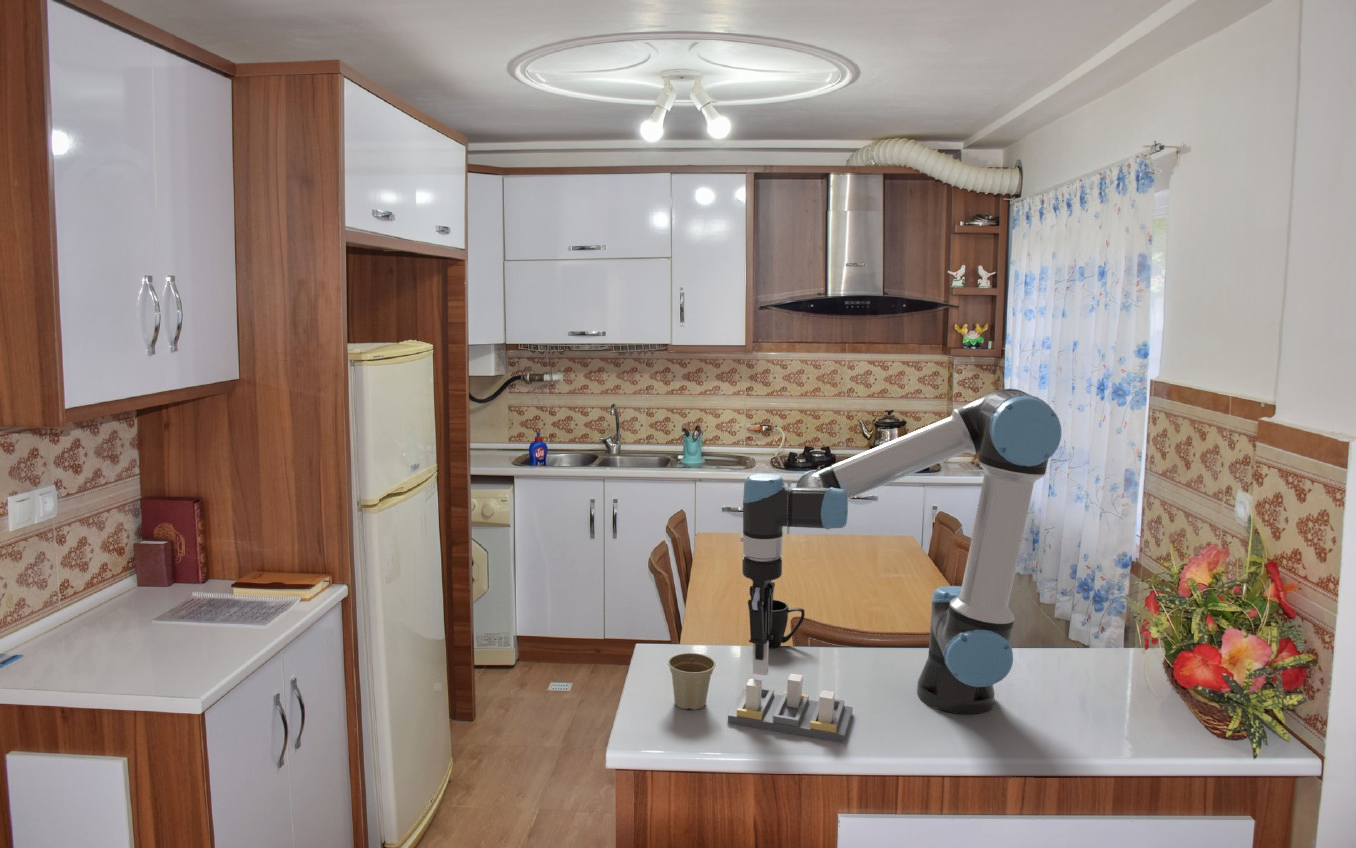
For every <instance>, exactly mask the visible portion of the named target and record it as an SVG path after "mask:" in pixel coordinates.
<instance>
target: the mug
mask: <svg viewBox="0 0 1356 848" xmlns="http://www.w3.org/2000/svg"><path fill="white" fill-rule="evenodd" d="M792 612H801V614H800V618H799V620H798V622H797V624H795V626H794V627H793V629H792V630H791V631H790V633H788V634H787V635H785V632H786V629H787V625H788V620H789V619H788V618H789V613H792ZM804 619H805V609H804V608H801V607H792V608H791V607H790V608H789V604H788V603H787V602H785V601H783V600H779V599H774V598H773V607H772V623H771V632H770V633H769V635H773V639H772V640H770V639H767V640H768V641H769V649H777V648H779V647H780V646H782V644H785V643H787V642H788V641H789V640H790V639H791V638H792V637H793V636H794V634H796V632H797V630H798V629H799V628H800V626H801V625H802V623H803V621H804Z"/></svg>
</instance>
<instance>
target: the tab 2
mask: <svg viewBox="0 0 1356 848" xmlns="http://www.w3.org/2000/svg"><path fill="white" fill-rule="evenodd" d="M803 677H804V675H803V674H796V673H790V674H789V675H788V678H787V686H786V687H787V689H786V690H787V706H788V707H794V708H799V707H800V704H801V702H802V694H803V681H804V680H803V679H804V678H803Z"/></svg>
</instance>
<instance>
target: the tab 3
mask: <svg viewBox="0 0 1356 848" xmlns="http://www.w3.org/2000/svg"><path fill="white" fill-rule="evenodd" d="M834 699H835V691H829V690H824V689H823V690H822V689H821V692H820V695H819V698H818V701H819V716H818V722H823V723H829V724H832V722H833V715H834Z"/></svg>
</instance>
